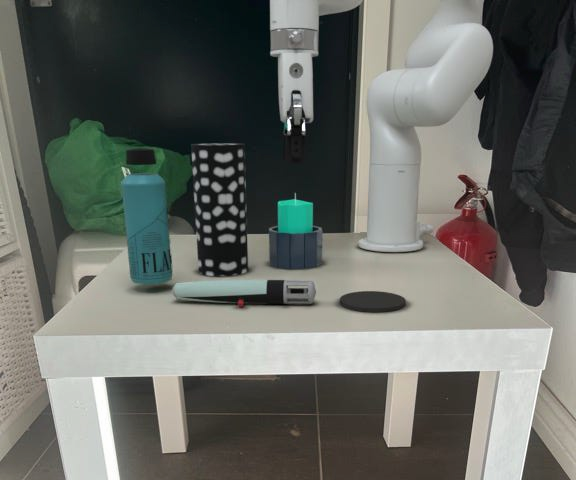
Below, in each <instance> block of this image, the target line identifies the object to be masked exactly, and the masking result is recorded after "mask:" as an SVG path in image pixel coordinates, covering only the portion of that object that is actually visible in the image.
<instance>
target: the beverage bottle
mask: <svg viewBox="0 0 576 480" xmlns="http://www.w3.org/2000/svg"><path fill="white" fill-rule="evenodd" d="M125 164H126V165H127V166H149V165H150V166H151V165H156V164H157V158H156V154H155V149H153V148H147V147H135V148H130V149H129V148H128V149H126V150H125ZM120 187H121V195H122V206H123V212H124V213H123V214H124V222H125V223H124V224H125V233H126V239H125V240H126V245H127V246H126V247H127V258H128V266H129V267H128V268H129V276H130V277H129V278H130V280H131V282H132V283H134V284H137V285H157V284H164V283H167V282H170V281H172V279H173V275H174V269H173V254H172V252H171V238H170V232H171V229H170V227H169V207H168V198H167V194H166V181H165V180H164V178H162V176H161V175H159V174H158V173H153V172H152V173H151V172H141V173H140V172H139V173H129V174H127V175H126V176H124V178H123V179H122V180H121V182H120Z"/></svg>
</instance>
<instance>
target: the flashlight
mask: <svg viewBox="0 0 576 480" xmlns="http://www.w3.org/2000/svg"><path fill="white" fill-rule="evenodd" d="M171 292H172V295H173V296H174V297H175V299H176V300H180V301H189V302H201V303H219V304H221V303H223V304H237V307H239V308H243V307H244V304H258V305H259V304H261V305H262V304H263V305H285V304H286V305H287V304H289V305H291V304H292V305H294V304H296V305H312V304H313V303H314V301H315V297H316V295H317V290H316V286H315V283H314V281H313V280H287V279H218V280H217V279H216V280H215V279H214V280H213V279H212V280H196V281H195V280H194V281H182V282H176V283H175V284H174V285H173V287H172V290H171Z"/></svg>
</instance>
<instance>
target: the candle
mask: <svg viewBox="0 0 576 480" xmlns="http://www.w3.org/2000/svg"><path fill="white" fill-rule="evenodd" d="M313 224H314V203H313V202H309V201H305V200H300V199H297V193H296V192H294V198H293V199H287V200H279V201H278V202H277V226H278V232H285V233H305V232H313V226H314V225H313Z"/></svg>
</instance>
